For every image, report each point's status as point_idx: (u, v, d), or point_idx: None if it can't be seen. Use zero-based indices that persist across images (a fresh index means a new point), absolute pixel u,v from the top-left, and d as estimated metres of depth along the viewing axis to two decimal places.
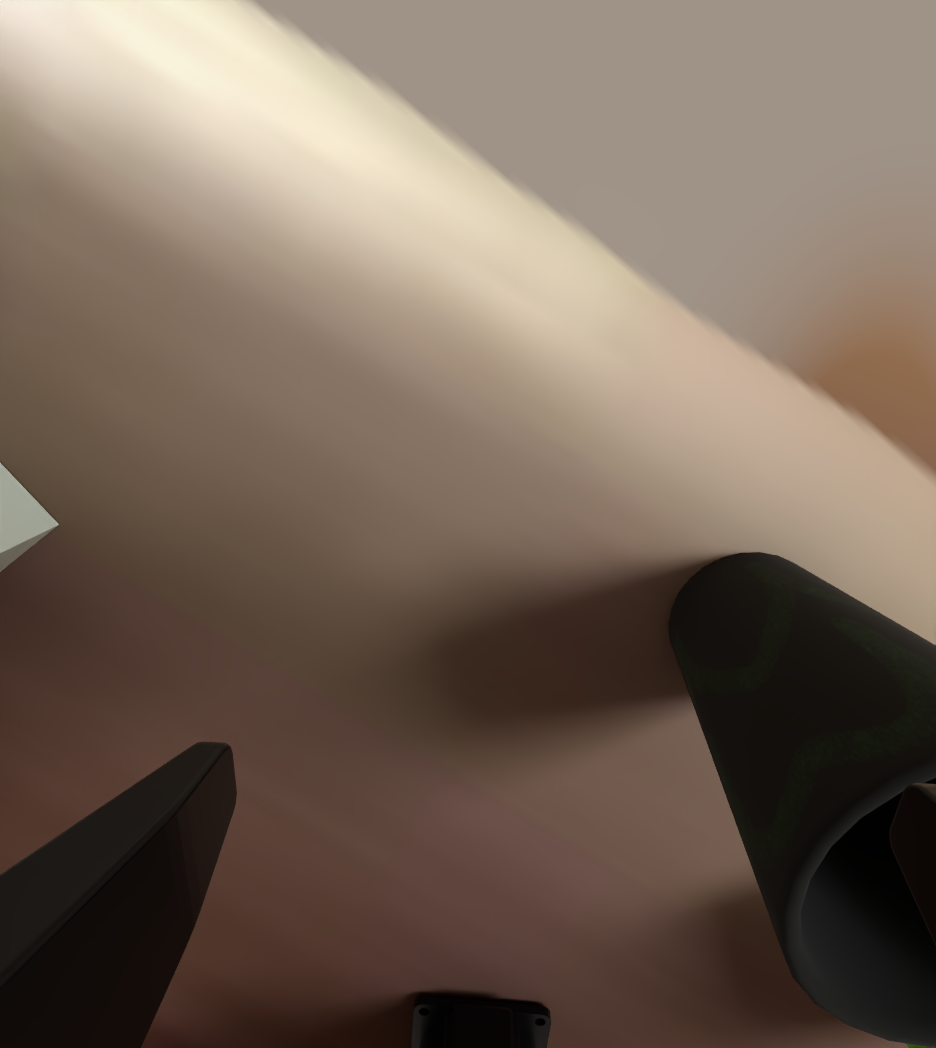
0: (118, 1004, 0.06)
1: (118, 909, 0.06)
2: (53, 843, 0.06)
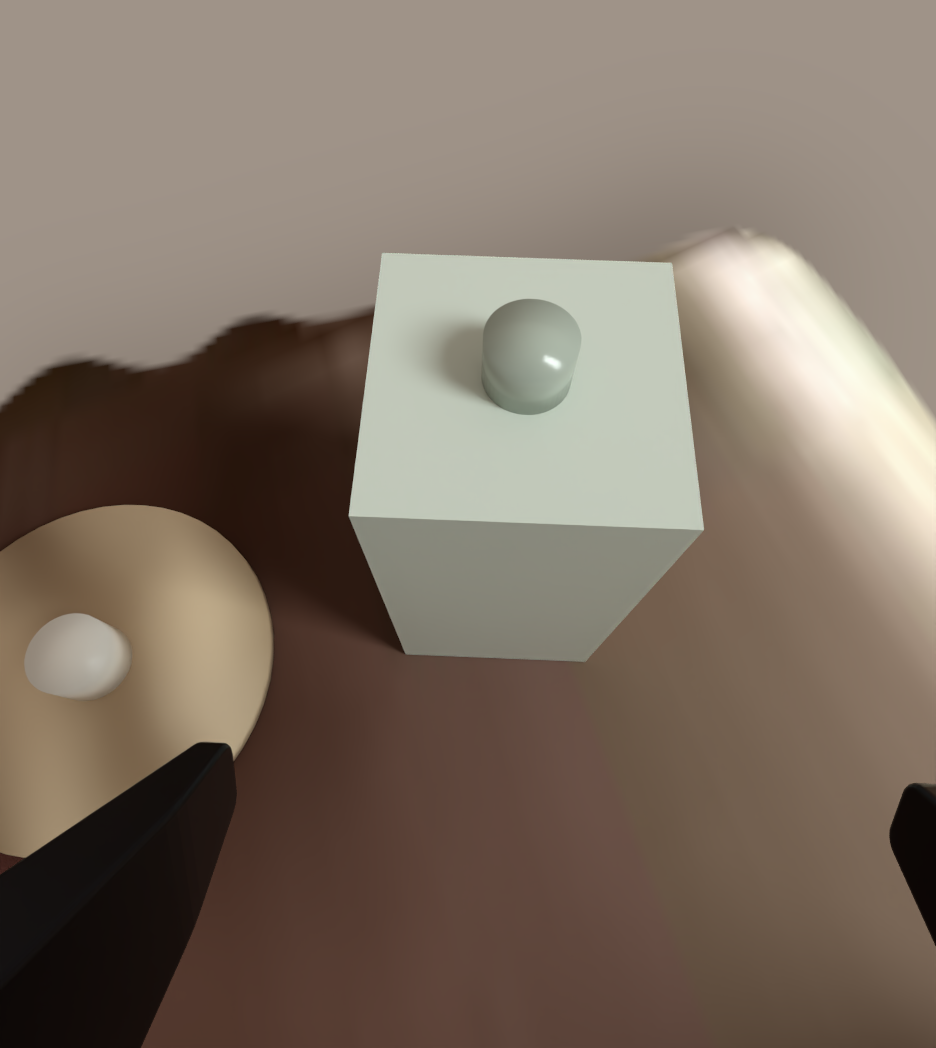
0: (117, 1004, 0.06)
1: (118, 909, 0.06)
2: (53, 843, 0.06)
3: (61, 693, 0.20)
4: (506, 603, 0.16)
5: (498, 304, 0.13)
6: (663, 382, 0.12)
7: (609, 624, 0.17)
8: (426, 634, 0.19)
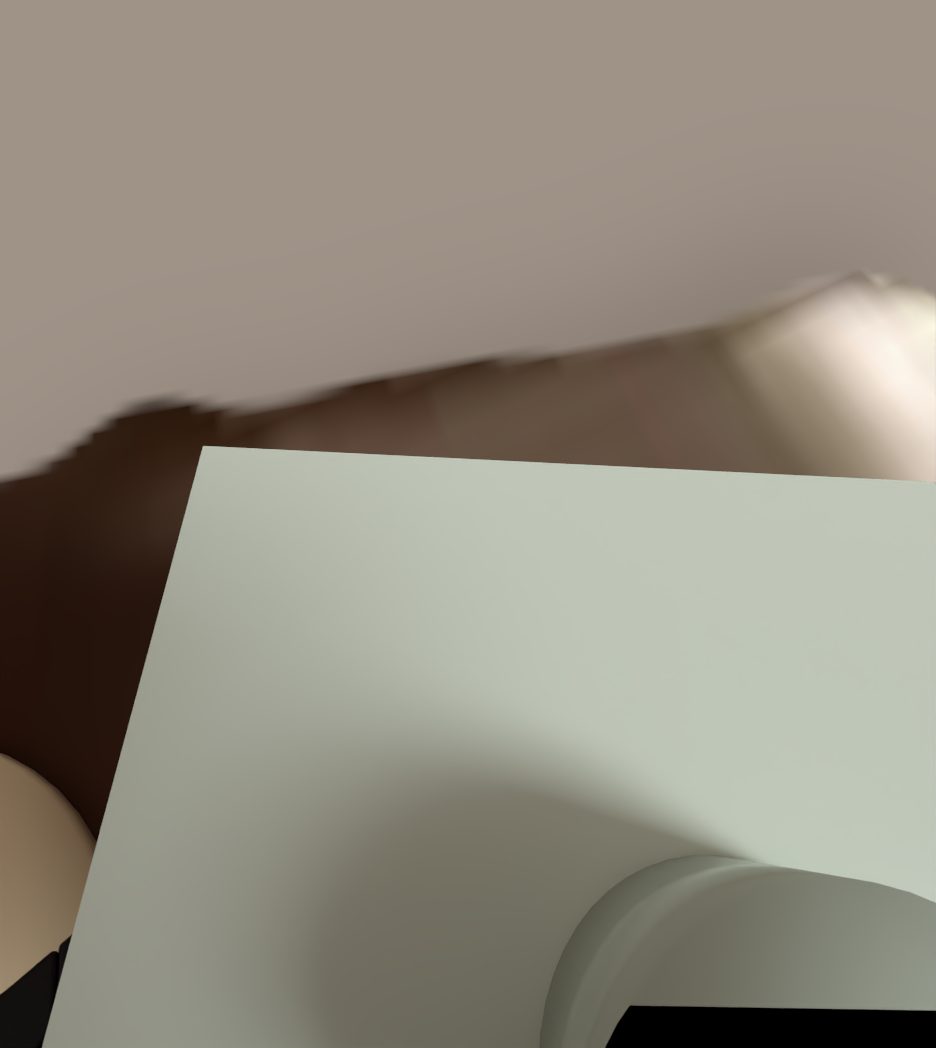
0: None
1: None
2: None
3: None
4: None
5: (592, 664, 0.04)
6: None
7: None
8: None
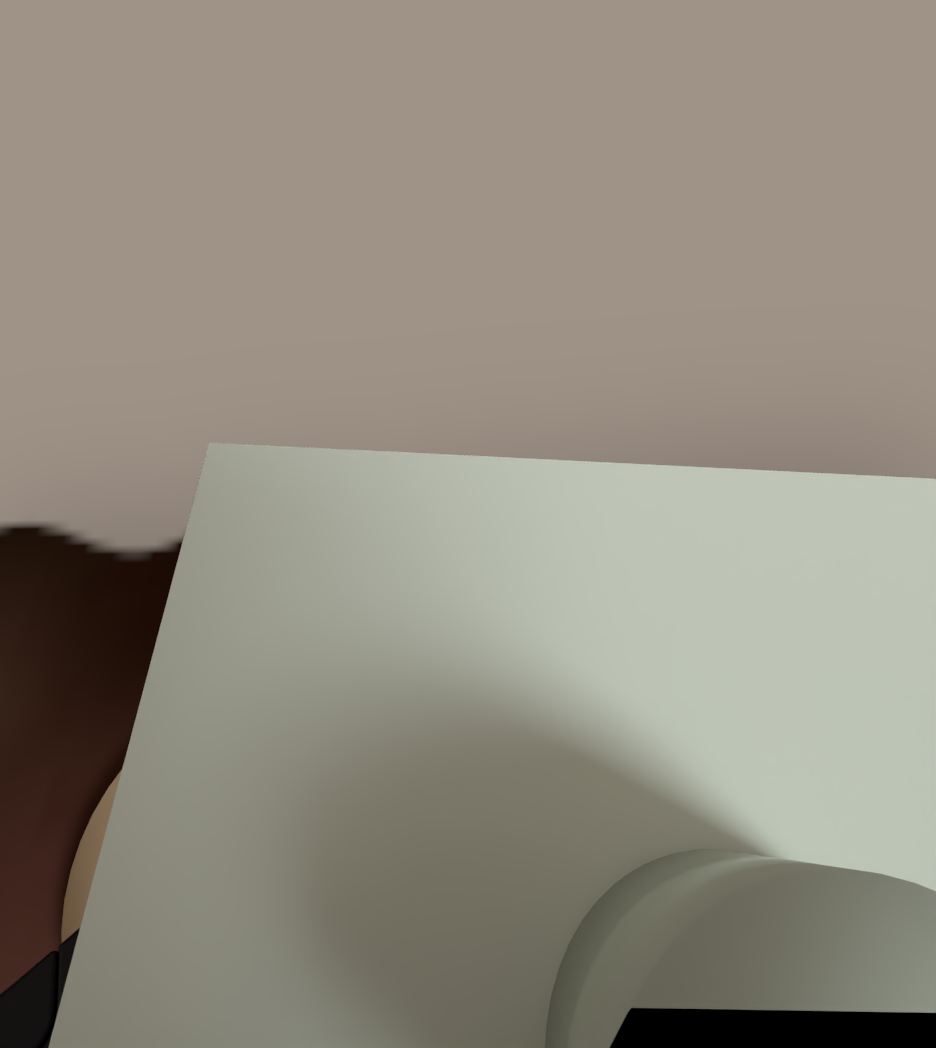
0: None
1: None
2: None
3: None
4: None
5: (596, 659, 0.04)
6: None
7: None
8: None
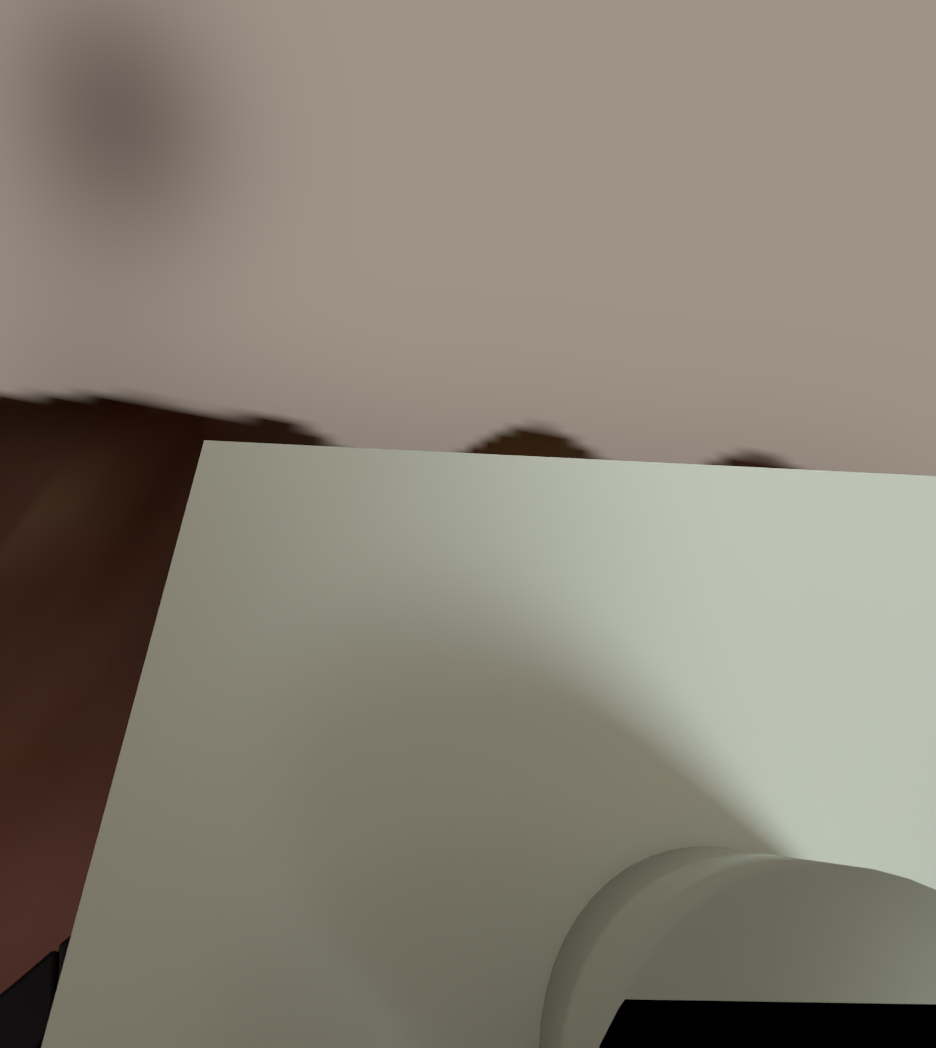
0: None
1: None
2: None
3: None
4: None
5: (591, 657, 0.04)
6: None
7: None
8: None
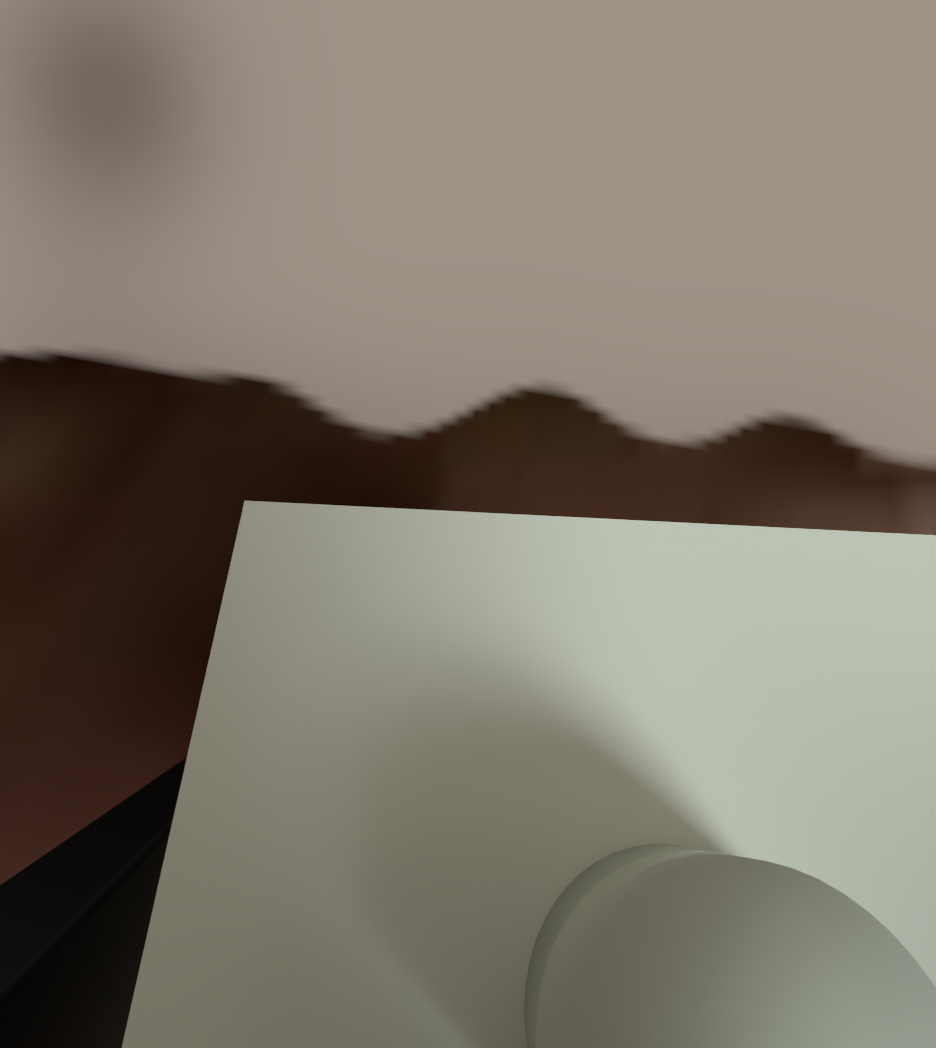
0: None
1: (132, 910, 0.06)
2: (66, 844, 0.06)
3: None
4: None
5: (570, 688, 0.04)
6: None
7: None
8: None
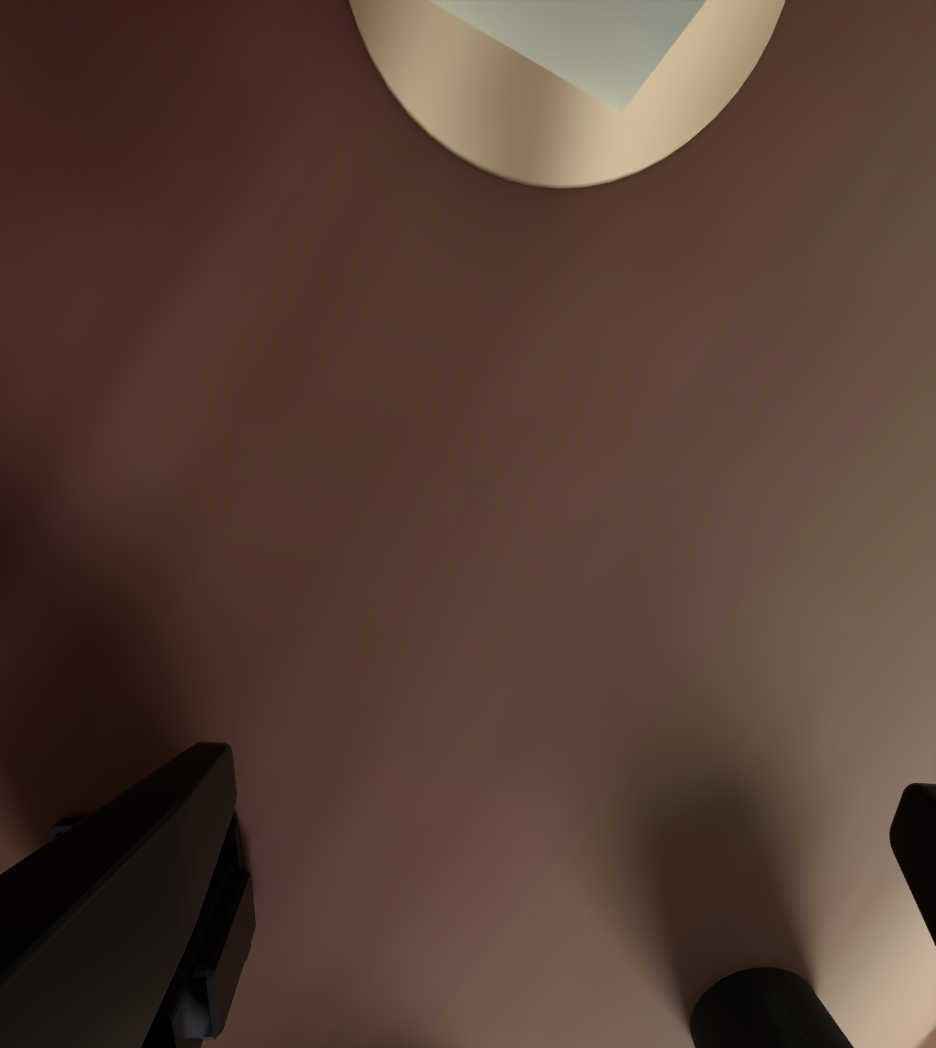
0: (118, 1004, 0.06)
1: (118, 909, 0.06)
2: (53, 843, 0.06)
3: None
4: None
5: None
6: None
7: (688, 3, 0.12)
8: None
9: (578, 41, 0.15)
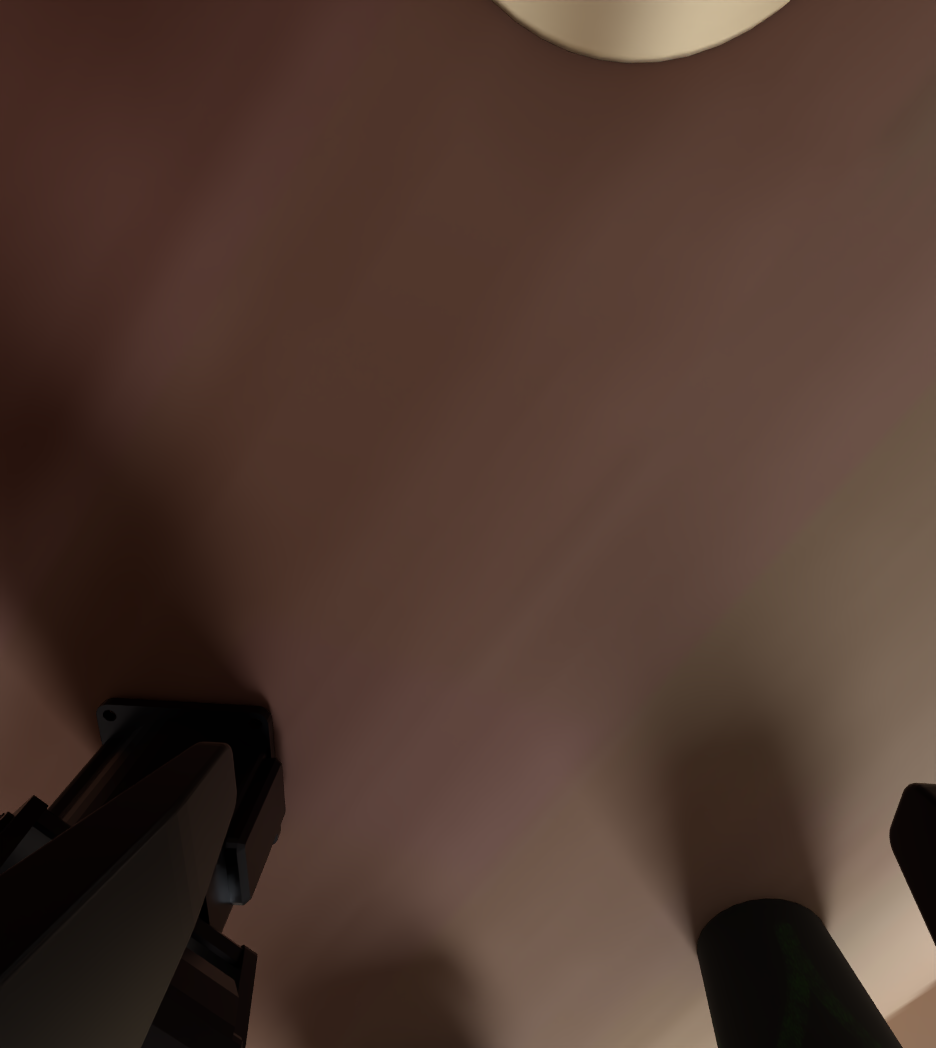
0: (118, 1004, 0.06)
1: (118, 909, 0.06)
2: (53, 843, 0.06)
3: None
4: None
5: None
6: None
7: None
8: None
9: None
